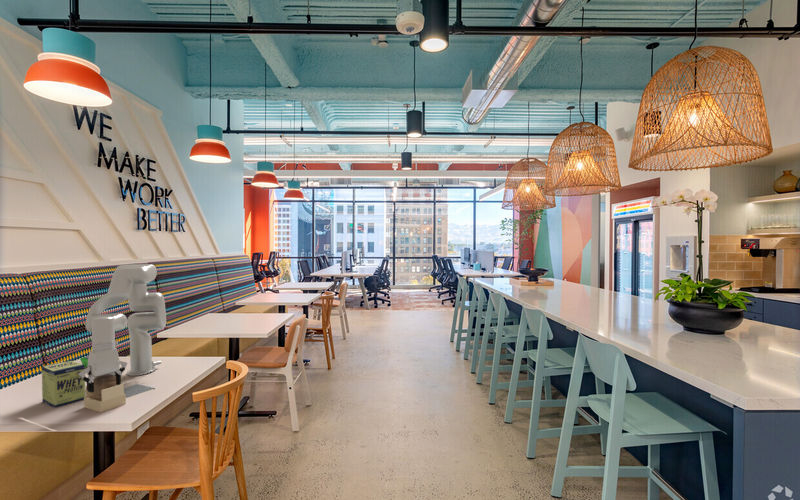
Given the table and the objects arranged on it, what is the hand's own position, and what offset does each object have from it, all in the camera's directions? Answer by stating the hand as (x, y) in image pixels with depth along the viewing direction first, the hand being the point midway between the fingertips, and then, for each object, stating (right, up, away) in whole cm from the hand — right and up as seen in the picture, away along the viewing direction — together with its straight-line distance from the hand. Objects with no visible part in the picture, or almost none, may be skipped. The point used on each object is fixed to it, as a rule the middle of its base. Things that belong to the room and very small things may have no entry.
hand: (104, 388), depth 161 cm
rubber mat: (-1, -8, +17) cm, 18 cm away
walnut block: (0, -7, 0) cm, 7 cm away
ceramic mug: (-15, -8, +23) cm, 28 cm away
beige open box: (0, -8, 0) cm, 8 cm away
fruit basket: (-51, -9, +61) cm, 80 cm away
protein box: (-23, -9, +8) cm, 26 cm away
